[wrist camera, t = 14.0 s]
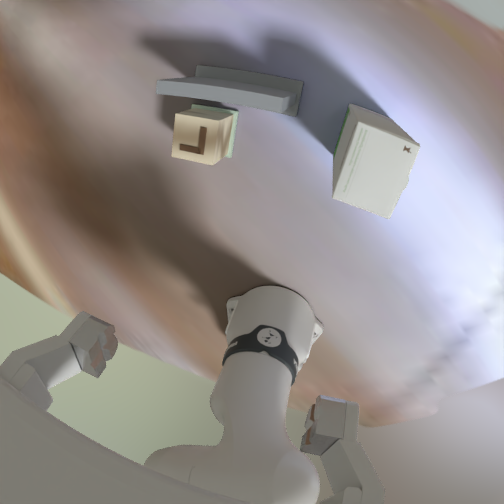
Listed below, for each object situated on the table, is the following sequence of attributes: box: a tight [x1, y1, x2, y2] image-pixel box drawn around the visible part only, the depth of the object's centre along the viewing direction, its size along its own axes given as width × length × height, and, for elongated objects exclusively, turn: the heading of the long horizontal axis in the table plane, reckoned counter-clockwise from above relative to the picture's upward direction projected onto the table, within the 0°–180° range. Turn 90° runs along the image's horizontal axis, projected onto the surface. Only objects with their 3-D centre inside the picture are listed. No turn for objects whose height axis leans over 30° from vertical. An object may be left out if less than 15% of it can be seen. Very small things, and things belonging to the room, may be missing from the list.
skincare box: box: [332, 103, 420, 219], centre depth 33 cm, size 8×7×16 cm
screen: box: [156, 65, 304, 117], centre depth 34 cm, size 5×15×12 cm, turn 80°
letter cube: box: [171, 108, 234, 165], centre depth 41 cm, size 6×6×6 cm
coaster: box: [191, 104, 239, 158], centre depth 43 cm, size 7×7×1 cm
